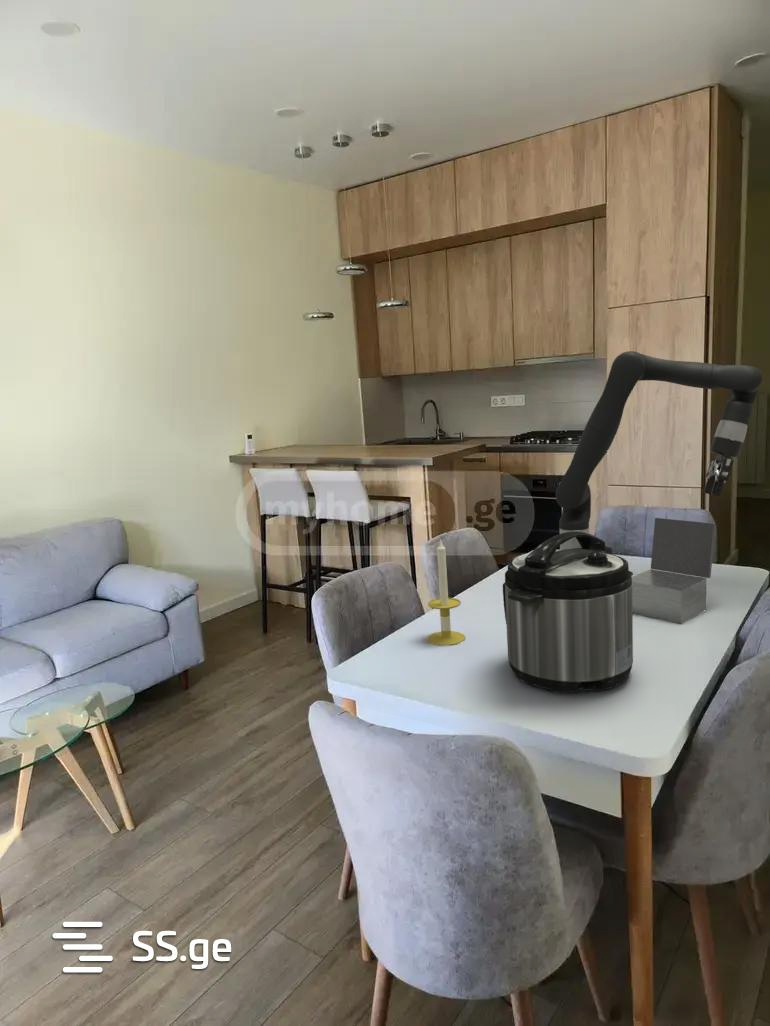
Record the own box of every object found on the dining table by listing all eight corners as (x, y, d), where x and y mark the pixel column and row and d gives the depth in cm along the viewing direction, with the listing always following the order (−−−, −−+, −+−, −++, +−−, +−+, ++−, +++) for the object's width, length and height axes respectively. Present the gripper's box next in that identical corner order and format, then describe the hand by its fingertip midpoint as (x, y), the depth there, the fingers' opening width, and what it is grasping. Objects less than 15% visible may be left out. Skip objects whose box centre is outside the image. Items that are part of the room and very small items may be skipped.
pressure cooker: (606, 641, 166) (604, 515, 161) (664, 690, 139) (664, 540, 133) (487, 654, 164) (481, 527, 158) (522, 706, 136) (516, 554, 131)
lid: (655, 517, 193) (660, 517, 195) (650, 568, 194) (655, 568, 196) (713, 523, 181) (718, 523, 182) (708, 578, 181) (713, 577, 183)
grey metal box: (624, 611, 186) (624, 580, 185) (650, 599, 195) (650, 569, 194) (681, 623, 174) (681, 590, 173) (706, 610, 183) (706, 578, 181)
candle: (449, 648, 169) (443, 544, 164) (419, 640, 176) (412, 540, 171) (473, 636, 176) (468, 536, 171) (443, 629, 183) (437, 532, 178)
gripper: (708, 436, 196) (691, 490, 198) (721, 434, 182) (703, 492, 184) (735, 442, 194) (718, 496, 196) (751, 441, 180) (732, 499, 182)
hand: (711, 494), depth 190 cm, fingers open, 8 cm apart
